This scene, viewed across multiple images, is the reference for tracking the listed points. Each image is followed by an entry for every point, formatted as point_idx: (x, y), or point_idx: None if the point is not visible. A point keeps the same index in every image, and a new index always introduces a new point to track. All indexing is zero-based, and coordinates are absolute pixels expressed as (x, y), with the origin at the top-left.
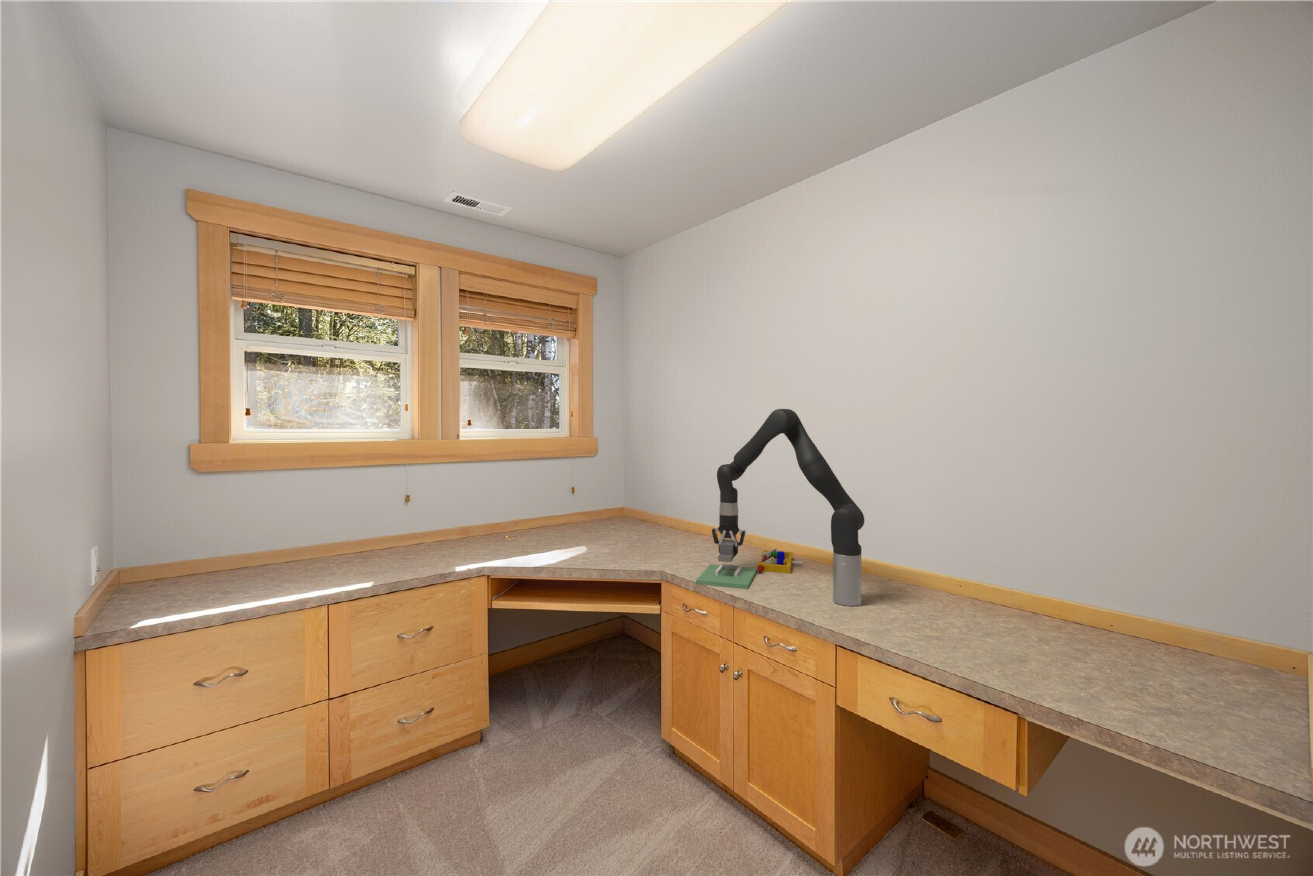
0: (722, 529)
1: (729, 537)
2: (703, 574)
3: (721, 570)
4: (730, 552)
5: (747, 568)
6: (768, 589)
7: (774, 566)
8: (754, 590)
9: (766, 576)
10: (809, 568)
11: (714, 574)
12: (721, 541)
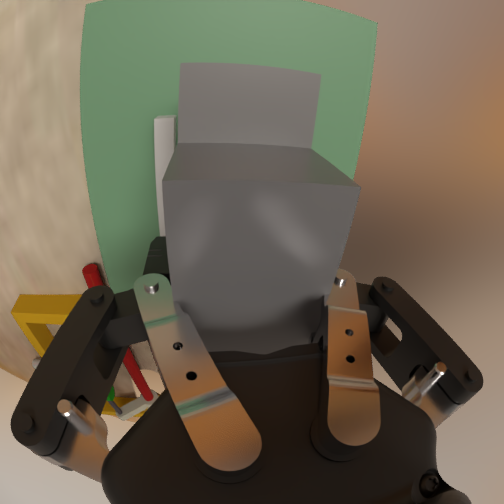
0: (386, 443)
1: (244, 361)
2: (354, 117)
3: None
4: (195, 151)
5: None
6: (13, 59)
7: (53, 311)
8: (63, 10)
9: (60, 237)
10: (16, 344)
11: None
12: (336, 300)
